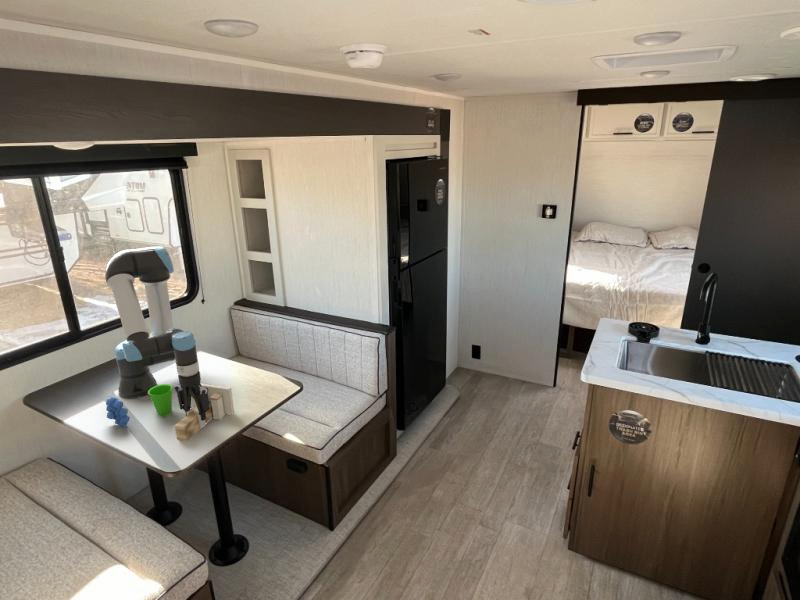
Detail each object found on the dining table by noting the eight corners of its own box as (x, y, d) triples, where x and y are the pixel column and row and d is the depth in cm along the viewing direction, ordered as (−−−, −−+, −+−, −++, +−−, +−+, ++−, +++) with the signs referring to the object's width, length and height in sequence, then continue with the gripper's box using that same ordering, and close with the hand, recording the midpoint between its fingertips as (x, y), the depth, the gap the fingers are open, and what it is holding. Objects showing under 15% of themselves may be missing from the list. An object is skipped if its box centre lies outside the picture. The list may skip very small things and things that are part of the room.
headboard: (187, 414, 188) (183, 388, 184) (196, 407, 193) (192, 382, 189) (226, 421, 184) (222, 394, 180) (234, 413, 189) (231, 387, 185)
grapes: (100, 426, 180) (94, 399, 176) (117, 417, 186) (111, 391, 182) (119, 434, 175) (112, 407, 171) (135, 425, 181) (130, 398, 177)
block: (207, 413, 189) (205, 400, 187) (216, 414, 188) (214, 401, 186) (177, 439, 173) (174, 425, 171) (186, 440, 172) (183, 426, 170)
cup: (151, 421, 184) (146, 397, 180) (153, 410, 191) (148, 386, 188) (176, 416, 187) (172, 392, 183) (177, 405, 195) (172, 382, 191)
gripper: (162, 374, 172) (172, 428, 179) (202, 379, 168) (210, 434, 175) (176, 365, 179) (185, 417, 186) (214, 370, 175) (222, 423, 182)
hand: (197, 425), depth 180 cm, fingers open, 4 cm apart
